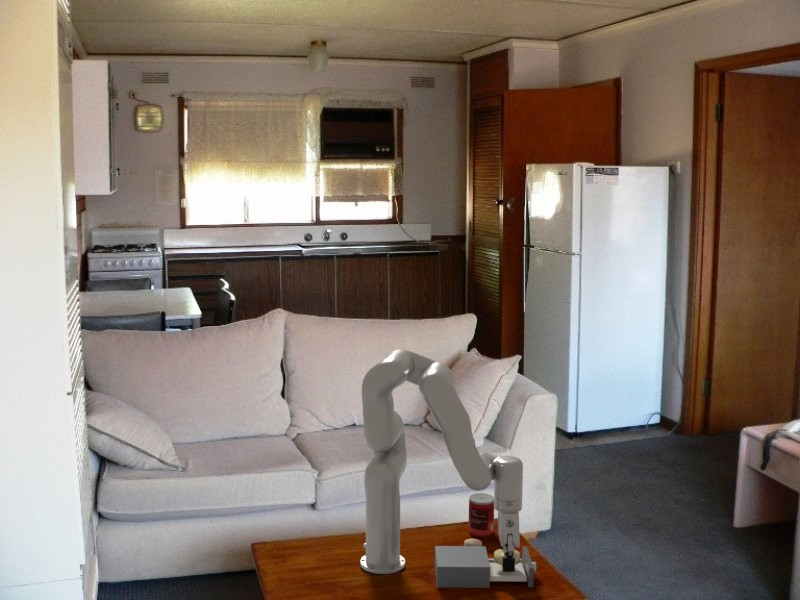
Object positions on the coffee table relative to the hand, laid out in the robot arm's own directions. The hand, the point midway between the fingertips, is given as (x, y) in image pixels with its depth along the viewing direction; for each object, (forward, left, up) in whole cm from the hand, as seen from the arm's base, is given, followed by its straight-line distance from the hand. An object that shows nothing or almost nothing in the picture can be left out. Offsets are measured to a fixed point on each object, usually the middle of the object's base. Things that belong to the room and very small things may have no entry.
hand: (506, 564), depth 253 cm
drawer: (0, 0, -3) cm, 3 cm away
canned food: (-28, +11, -4) cm, 30 cm away
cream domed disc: (0, 0, +1) cm, 1 cm away
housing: (-6, -11, -4) cm, 13 cm away
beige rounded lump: (-15, -1, -4) cm, 15 cm away
